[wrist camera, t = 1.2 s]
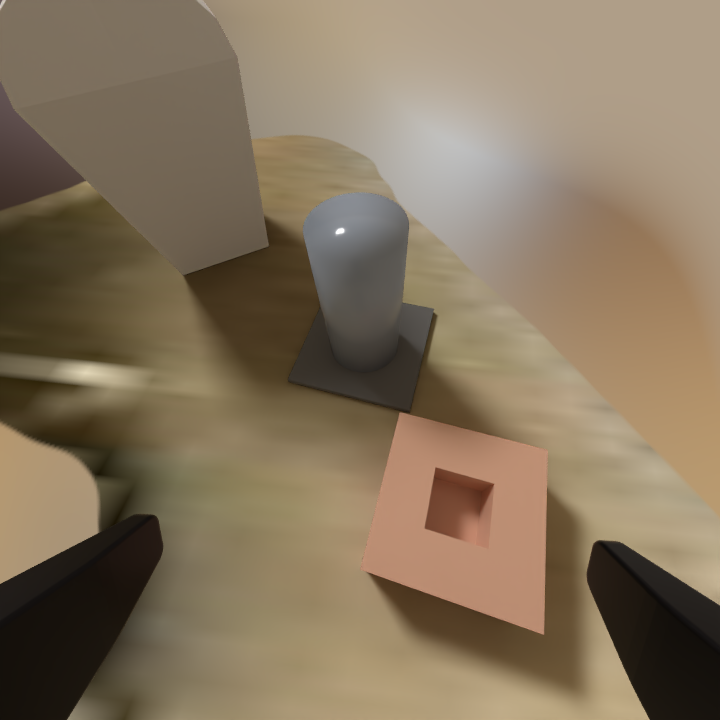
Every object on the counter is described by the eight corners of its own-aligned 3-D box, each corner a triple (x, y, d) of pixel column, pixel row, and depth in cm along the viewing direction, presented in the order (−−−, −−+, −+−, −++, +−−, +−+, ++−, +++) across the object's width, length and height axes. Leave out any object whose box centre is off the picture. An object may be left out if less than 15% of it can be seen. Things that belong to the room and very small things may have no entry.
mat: (409, 412, 23) (409, 410, 22) (288, 382, 24) (287, 379, 24) (433, 311, 27) (433, 308, 27) (329, 291, 29) (328, 288, 28)
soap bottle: (262, 189, 37) (81, -373, 14) (291, 244, 32) (85, -470, 10) (149, 224, 35) (-266, -370, 12) (162, 289, 30) (-482, -492, 8)
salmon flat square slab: (514, 620, 17) (544, 634, 14) (363, 566, 18) (360, 569, 15) (523, 465, 21) (547, 449, 18) (397, 431, 22) (399, 411, 19)
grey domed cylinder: (389, 379, 24) (395, 271, 15) (321, 363, 25) (286, 252, 16) (405, 322, 26) (418, 199, 17) (342, 309, 27) (323, 187, 18)
